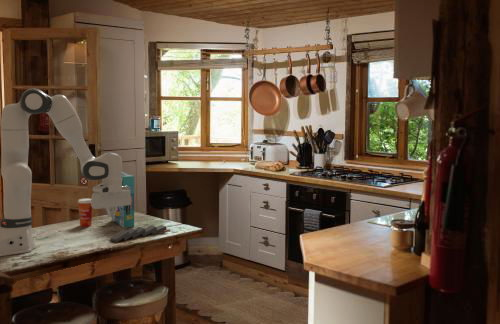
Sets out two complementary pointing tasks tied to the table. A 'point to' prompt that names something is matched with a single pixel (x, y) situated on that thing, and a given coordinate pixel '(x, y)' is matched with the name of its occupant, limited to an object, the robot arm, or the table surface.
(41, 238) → the table surface
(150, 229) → the tile
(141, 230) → the tile
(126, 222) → the game box
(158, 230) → the tile
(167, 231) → the end tile
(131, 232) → the tile
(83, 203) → the paper cup
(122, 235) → the dark grey rectangular block
